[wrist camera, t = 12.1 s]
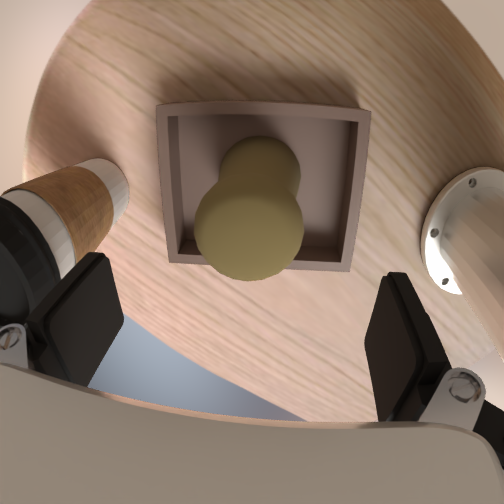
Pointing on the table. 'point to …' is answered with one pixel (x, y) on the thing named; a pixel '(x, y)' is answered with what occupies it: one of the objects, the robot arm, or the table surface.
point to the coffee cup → (54, 230)
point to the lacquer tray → (297, 139)
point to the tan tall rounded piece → (252, 211)
